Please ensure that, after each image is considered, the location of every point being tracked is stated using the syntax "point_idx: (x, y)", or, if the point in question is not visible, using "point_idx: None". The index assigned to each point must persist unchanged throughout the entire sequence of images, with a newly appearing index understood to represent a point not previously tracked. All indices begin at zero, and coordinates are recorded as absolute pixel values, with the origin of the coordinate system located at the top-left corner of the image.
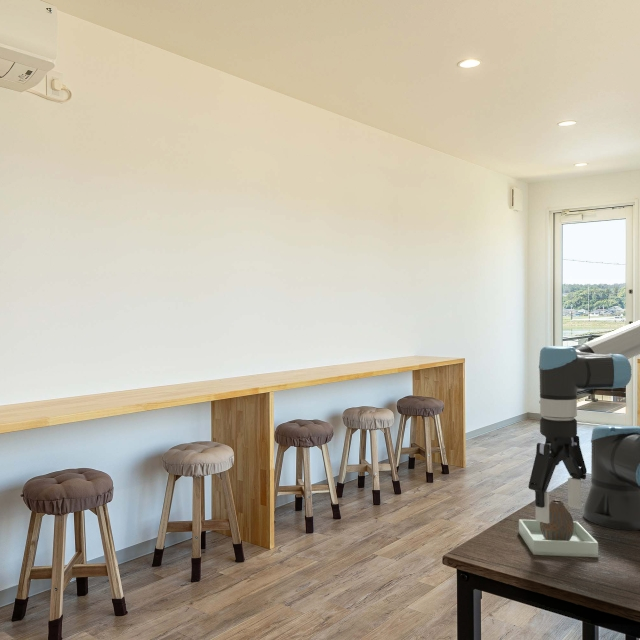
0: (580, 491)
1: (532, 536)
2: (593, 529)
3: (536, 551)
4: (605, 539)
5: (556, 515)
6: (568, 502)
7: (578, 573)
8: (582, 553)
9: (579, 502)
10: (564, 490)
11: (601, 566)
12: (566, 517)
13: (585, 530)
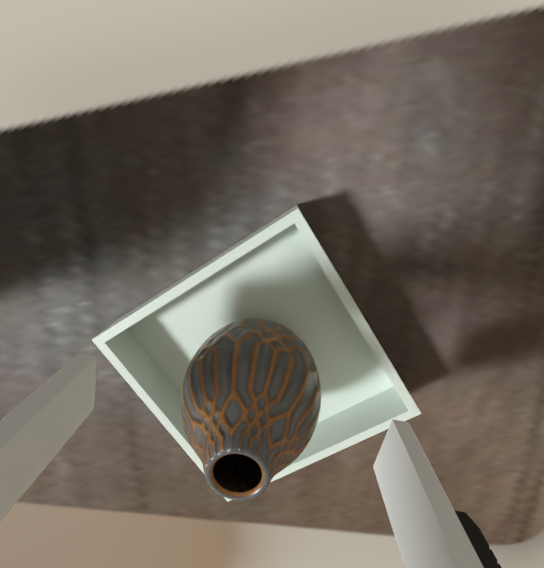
0: (12, 419)
1: (381, 426)
2: (20, 285)
3: (402, 381)
4: (90, 225)
5: (304, 419)
6: (82, 421)
7: (493, 224)
8: (326, 254)
9: (75, 377)
10: None
11: (379, 172)
12: (279, 376)
13: (177, 288)
